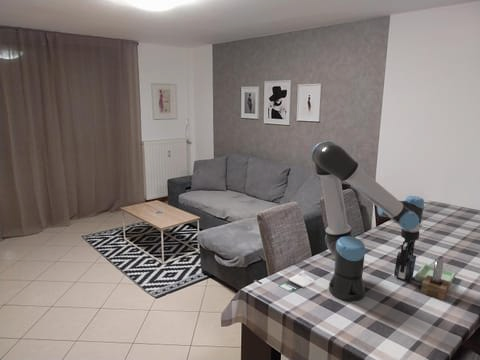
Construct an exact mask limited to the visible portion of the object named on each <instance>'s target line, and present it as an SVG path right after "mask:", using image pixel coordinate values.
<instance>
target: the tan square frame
mask: <svg viewBox="0 0 480 360" xmlns="http://www.w3.org/2000/svg"><path fill="white" fill-rule="evenodd" d="M432 278H433V276H429V275H427V277H426V278H425V279H424V281H423V282H421V288H420V289H421V290H420V293H421V294H423V295H427V296H430V297H433V298H434V299H435V298H436V299H439V300H442V301H445V299H446V298H447V296H448V294H449V291H450V287H451V285H450V282H449V281H446V280H443V279H441V283H440V285H437V284H434V283H432ZM449 286H450V287H449Z"/></svg>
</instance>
